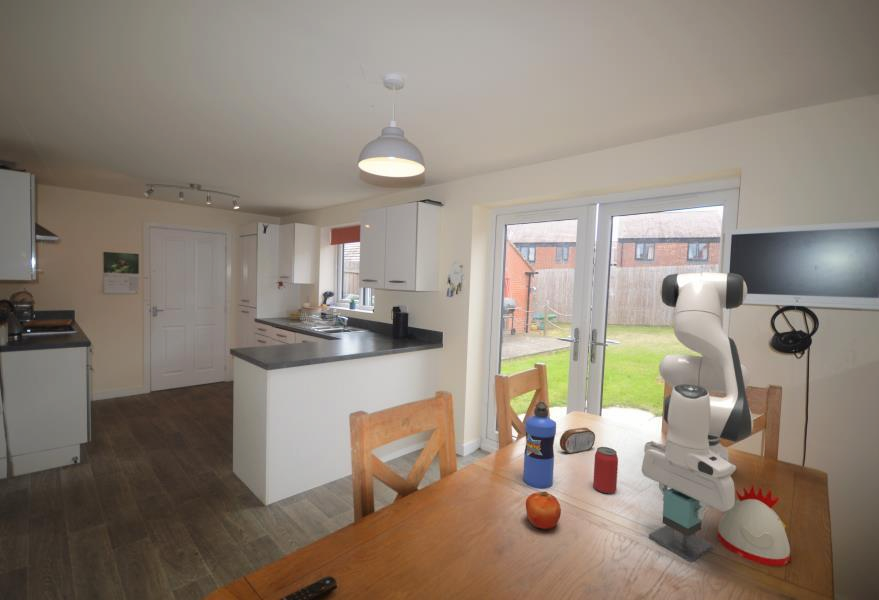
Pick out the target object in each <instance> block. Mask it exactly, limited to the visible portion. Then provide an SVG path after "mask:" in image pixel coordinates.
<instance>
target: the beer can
mask: <svg viewBox="0 0 879 600" xmlns="http://www.w3.org/2000/svg"><path fill="white" fill-rule="evenodd" d="M617 453H618V452H617V450H615V449H613V448H611V447H608V446H607V447H606V446H600V447H597V448H596V451H595V453H594V462H593V463H594V466H593V481H592V482H593V483H592V484H593V485H592V486H593V487H594V489H595V490H597V491H598V492H600V493H603V494H613V493H615V492H616V491H617V485H618V483H617V482H618V467H619V466H618V465H619V458H618V454H617Z"/></svg>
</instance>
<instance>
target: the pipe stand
mask: <svg viewBox="0 0 879 600" xmlns="http://www.w3.org/2000/svg"><path fill="white" fill-rule="evenodd" d="M681 497H682V496H681ZM682 498H684V497H682ZM684 499H686V498H684ZM686 500H688V499H686ZM648 538H649V540H651V541H653V542H655V543H657V544H658V545H659V546H661V547H664V548H665V549H666V550H668V551H670V552H672V553H673V554H674V555H677V556H679V557H681V558H682V559H683V560H686V561H687V562H689V563H692V562H695V561H696V560H697V559H700V558H701V557H702V556H704V555H706V554H707V553H709V552H711V551H712V550H713V549H714V544H712V543H711V542H709V541H707V540H705V539H703V538H701V537H699V536H697V535H695V533H693V534H692V535H690V536H688V537H687V536H686V535H684V534H682V533H680V532H678V531H676V530H674V529H673V528H671V527H669V526H667V525H664V526H662V527H661V528H658V529H657V530H654V531H652V532H651V533H649V534H648Z"/></svg>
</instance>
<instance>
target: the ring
mask: <svg viewBox="0 0 879 600" xmlns="http://www.w3.org/2000/svg"><path fill="white" fill-rule="evenodd" d="M702 522H703V520H702V521H701V522H699V523H698V524H696V525H694V526H692V527H690V528H686V527H684V526H682V525H680V524H678V523H676V522H675V521H673V520H671V519H669V518H667V517H665V516H663V515H662V524H663V525H664V526H666V525H667V526H669V527H671V528H673V529H674V530H676V531H678V532H680V533H682V534H684V535H686V536H687V537H688V536H690V535H692V534H695V533H697V532H699V531H701V530H702Z"/></svg>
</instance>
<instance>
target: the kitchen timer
mask: <svg viewBox="0 0 879 600" xmlns="http://www.w3.org/2000/svg"><path fill="white" fill-rule="evenodd" d="M742 489H743V494H744V495H741V494H740V493H739V491H738V489H735V493H736V496H737V498H738V499H737V500H736V499H735V502H734V506H733V507H732V508H731V509H729V510H727V511H724V512H723V514H722V517H721V518H720V521H719V522H718V526H717V538H718V540H719V542H720V543H721V544H722V545H723V546H724V547H725V548H726V549H728V550H730V551H731V552H733V553H734V554H736V555H738V556H739V557H742V558H744V559H746V560H749V561H751V562H754V563H758V564H762V565H766V566H772V567H773V566H774V567H779V566H785V565H788V564H789V562H788V561H790V556H791V548H790V543H789V539H788V536H787V533H786V526H787V525H786V524H785V523H784V522H783V521H782V520H781V518H780V517H779V515H778V513H777V512H776V511H775V510H774V509H773V507H774V506H775V505H776V504H777V503H778V501H779V496H776V497H774V498H772V491H771V489H768V491H767V493H766V494H765V496H763V491H762V487H761V486H759V488H758V490H757V494H756V493H755V487H754V485H753V484H751V485H750V491H749V492H748V490H747V489H746V487H745V486H743V487H742Z"/></svg>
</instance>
